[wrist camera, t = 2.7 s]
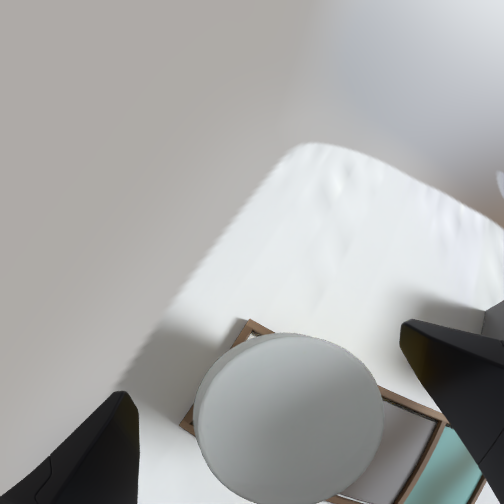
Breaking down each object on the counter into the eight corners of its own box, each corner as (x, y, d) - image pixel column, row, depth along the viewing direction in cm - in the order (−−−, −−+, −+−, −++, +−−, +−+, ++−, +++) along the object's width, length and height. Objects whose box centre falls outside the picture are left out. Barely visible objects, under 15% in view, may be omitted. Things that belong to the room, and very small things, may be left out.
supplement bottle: (215, 447, 12) (150, 511, 4) (227, 353, 15) (182, 291, 6) (318, 455, 12) (393, 523, 3) (327, 361, 14) (412, 309, 6)
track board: (501, 437, 10) (505, 437, 10) (456, 524, 8) (460, 526, 7) (249, 320, 16) (249, 318, 15) (181, 424, 13) (178, 425, 12)
